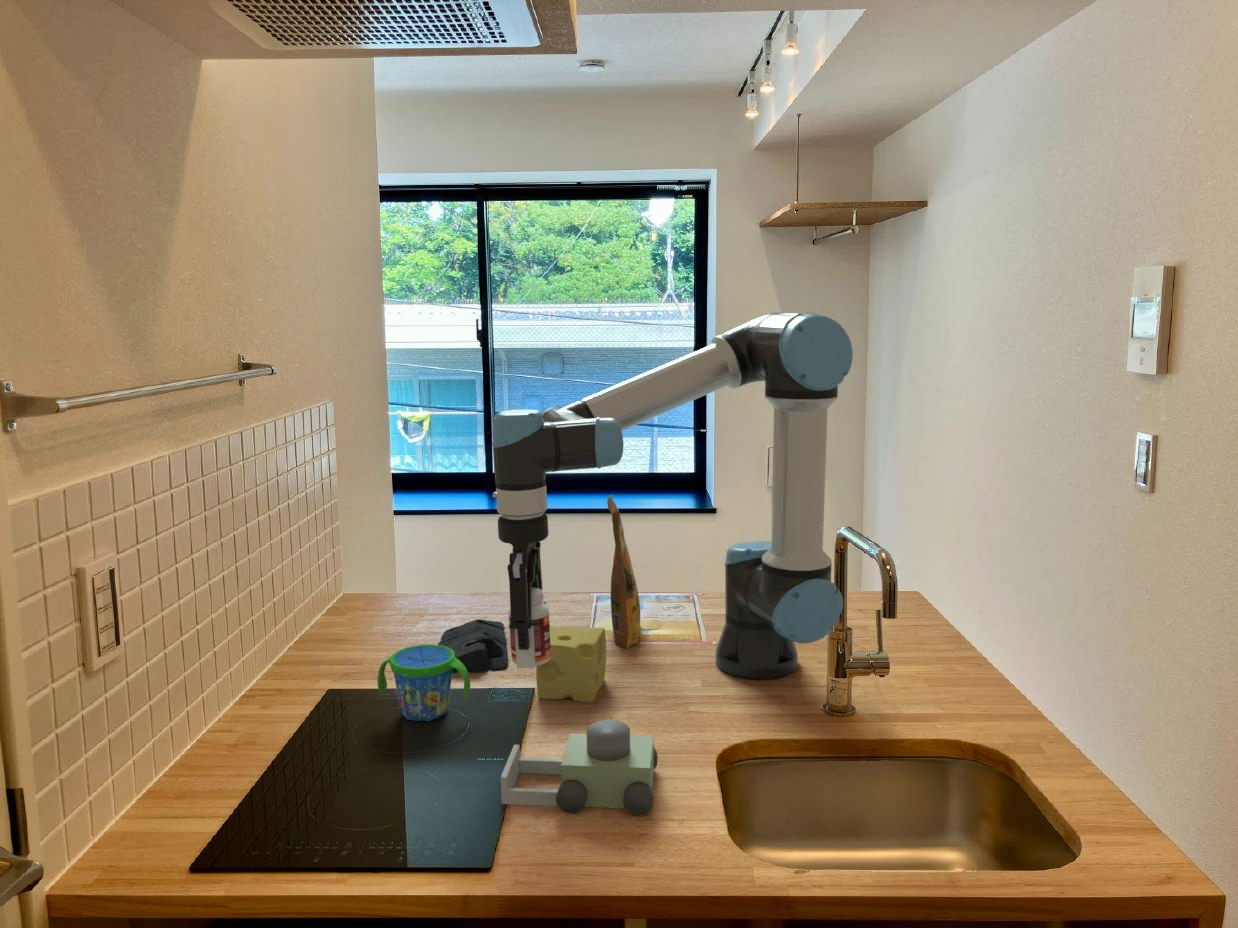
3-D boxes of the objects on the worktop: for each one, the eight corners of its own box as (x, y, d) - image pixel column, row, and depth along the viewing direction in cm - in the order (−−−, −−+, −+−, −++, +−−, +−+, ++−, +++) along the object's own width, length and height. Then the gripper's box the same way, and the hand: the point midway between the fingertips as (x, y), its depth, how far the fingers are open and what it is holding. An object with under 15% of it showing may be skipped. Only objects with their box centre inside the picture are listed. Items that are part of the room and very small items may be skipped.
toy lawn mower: (657, 768, 134) (657, 711, 132) (653, 816, 121) (652, 753, 120) (517, 764, 135) (515, 707, 134) (499, 810, 123) (496, 748, 122)
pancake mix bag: (604, 651, 178) (602, 511, 173) (609, 617, 197) (607, 490, 192) (639, 651, 178) (637, 511, 173) (641, 617, 196) (639, 489, 191)
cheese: (594, 704, 155) (593, 648, 153) (533, 699, 157) (531, 644, 156) (607, 679, 165) (606, 626, 164) (550, 675, 167) (548, 623, 166)
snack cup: (482, 705, 155) (479, 648, 153) (452, 733, 145) (449, 673, 144) (400, 694, 160) (397, 639, 158) (367, 721, 150) (363, 662, 148)
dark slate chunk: (515, 631, 191) (514, 609, 190) (507, 674, 169) (506, 650, 168) (441, 634, 190) (440, 612, 189) (423, 677, 168) (422, 653, 167)
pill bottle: (554, 665, 140) (550, 596, 138) (514, 670, 138) (509, 601, 136) (548, 650, 146) (544, 583, 143) (509, 655, 144) (505, 588, 142)
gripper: (510, 499, 147) (518, 635, 152) (482, 530, 129) (492, 684, 133) (557, 498, 147) (563, 635, 151) (535, 529, 128) (544, 684, 132)
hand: (530, 658), depth 142 cm, fingers closed on pill bottle, 6 cm apart
